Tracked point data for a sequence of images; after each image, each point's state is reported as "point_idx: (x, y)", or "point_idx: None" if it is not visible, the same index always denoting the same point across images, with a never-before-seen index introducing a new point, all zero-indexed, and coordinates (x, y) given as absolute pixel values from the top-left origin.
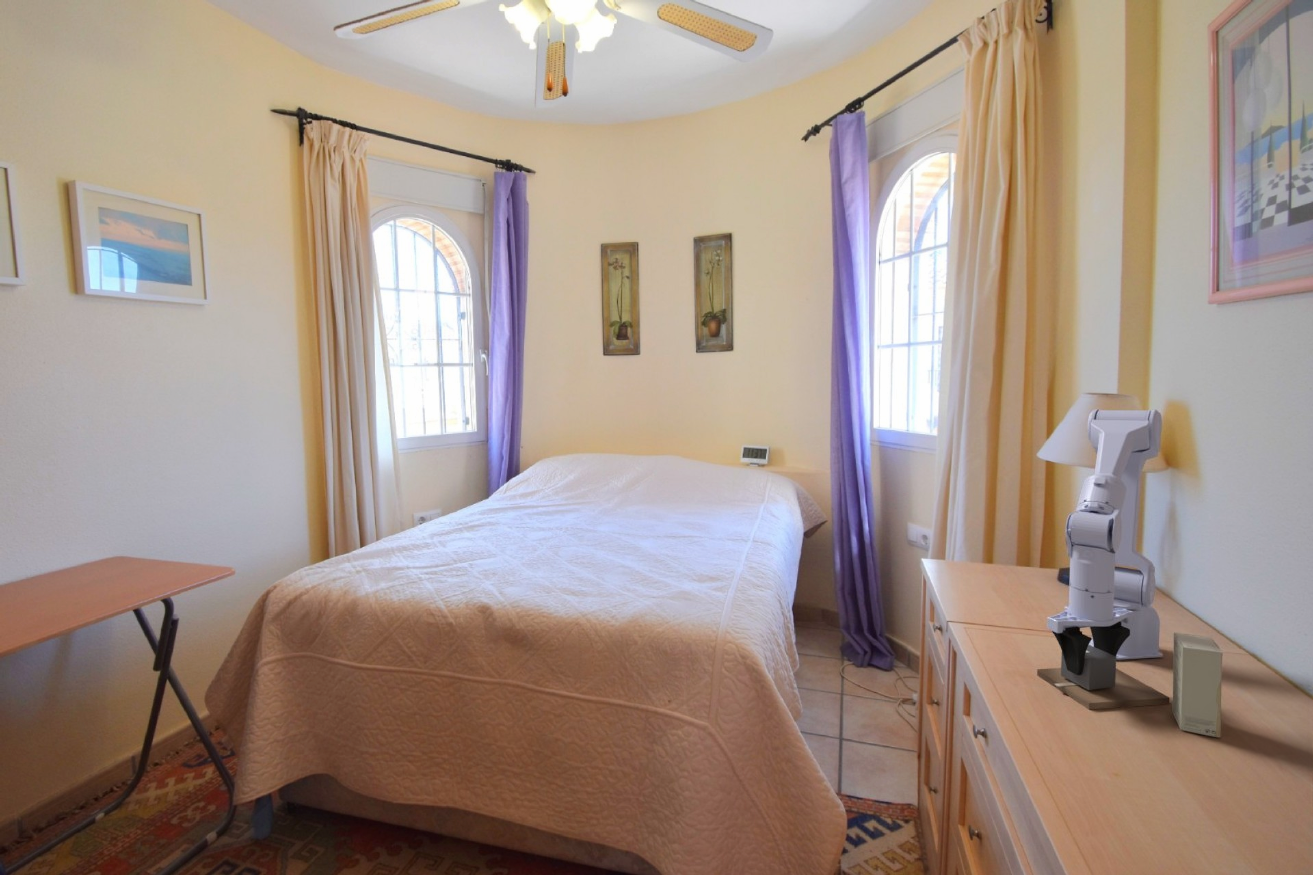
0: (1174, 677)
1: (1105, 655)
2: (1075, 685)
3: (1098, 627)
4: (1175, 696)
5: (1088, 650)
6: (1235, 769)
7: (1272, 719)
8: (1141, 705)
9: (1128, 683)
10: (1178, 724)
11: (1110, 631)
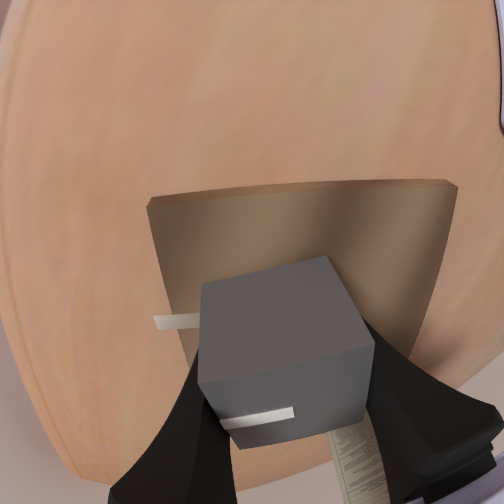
0: None
1: (335, 420)
2: None
3: (411, 467)
4: (367, 425)
5: (309, 399)
6: (298, 454)
7: (477, 360)
8: None
9: (394, 306)
10: None
11: (397, 488)
